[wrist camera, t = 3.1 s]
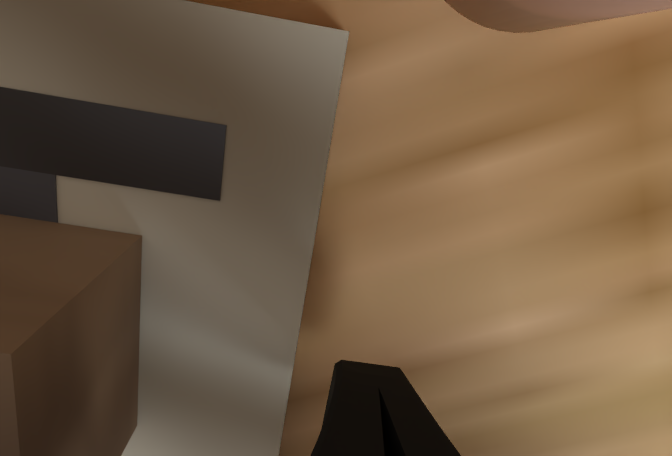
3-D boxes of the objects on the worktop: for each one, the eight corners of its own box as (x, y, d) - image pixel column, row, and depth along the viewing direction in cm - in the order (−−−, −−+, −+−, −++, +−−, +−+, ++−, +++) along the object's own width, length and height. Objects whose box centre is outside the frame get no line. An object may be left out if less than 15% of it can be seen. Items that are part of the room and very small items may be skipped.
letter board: (257, 572, 14) (252, 610, 13) (-142, 533, 13) (-180, 570, 12) (347, 34, 9) (349, 31, 8) (-310, -89, 8) (-399, -111, 7)
